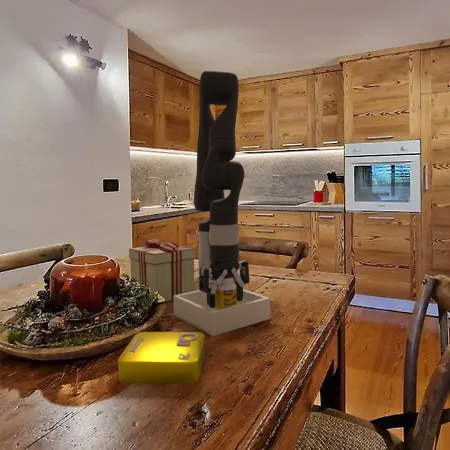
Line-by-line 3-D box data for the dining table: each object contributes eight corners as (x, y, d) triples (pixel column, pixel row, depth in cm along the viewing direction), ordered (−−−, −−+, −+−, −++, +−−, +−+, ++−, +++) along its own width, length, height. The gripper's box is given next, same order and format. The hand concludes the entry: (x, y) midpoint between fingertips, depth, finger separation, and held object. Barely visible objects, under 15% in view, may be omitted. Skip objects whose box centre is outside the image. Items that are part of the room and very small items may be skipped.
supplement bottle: (222, 321, 101) (222, 281, 100) (211, 315, 106) (210, 276, 105) (241, 316, 104) (240, 277, 103) (229, 310, 109) (228, 273, 108)
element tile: (137, 350, 89) (136, 329, 88) (206, 350, 88) (205, 329, 87) (115, 385, 74) (114, 360, 73) (198, 386, 73) (197, 360, 72)
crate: (174, 315, 109) (173, 295, 108) (227, 302, 119) (227, 283, 119) (212, 336, 94) (212, 313, 94) (270, 318, 105) (269, 298, 104)
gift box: (205, 292, 130) (203, 238, 128) (159, 306, 117) (157, 247, 115) (170, 283, 142) (168, 234, 140) (125, 295, 128) (122, 241, 126)
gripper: (237, 237, 110) (238, 295, 112) (192, 243, 101) (194, 306, 103) (255, 240, 104) (256, 301, 106) (209, 246, 95) (210, 313, 97)
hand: (225, 303), depth 105 cm, fingers open, 8 cm apart
